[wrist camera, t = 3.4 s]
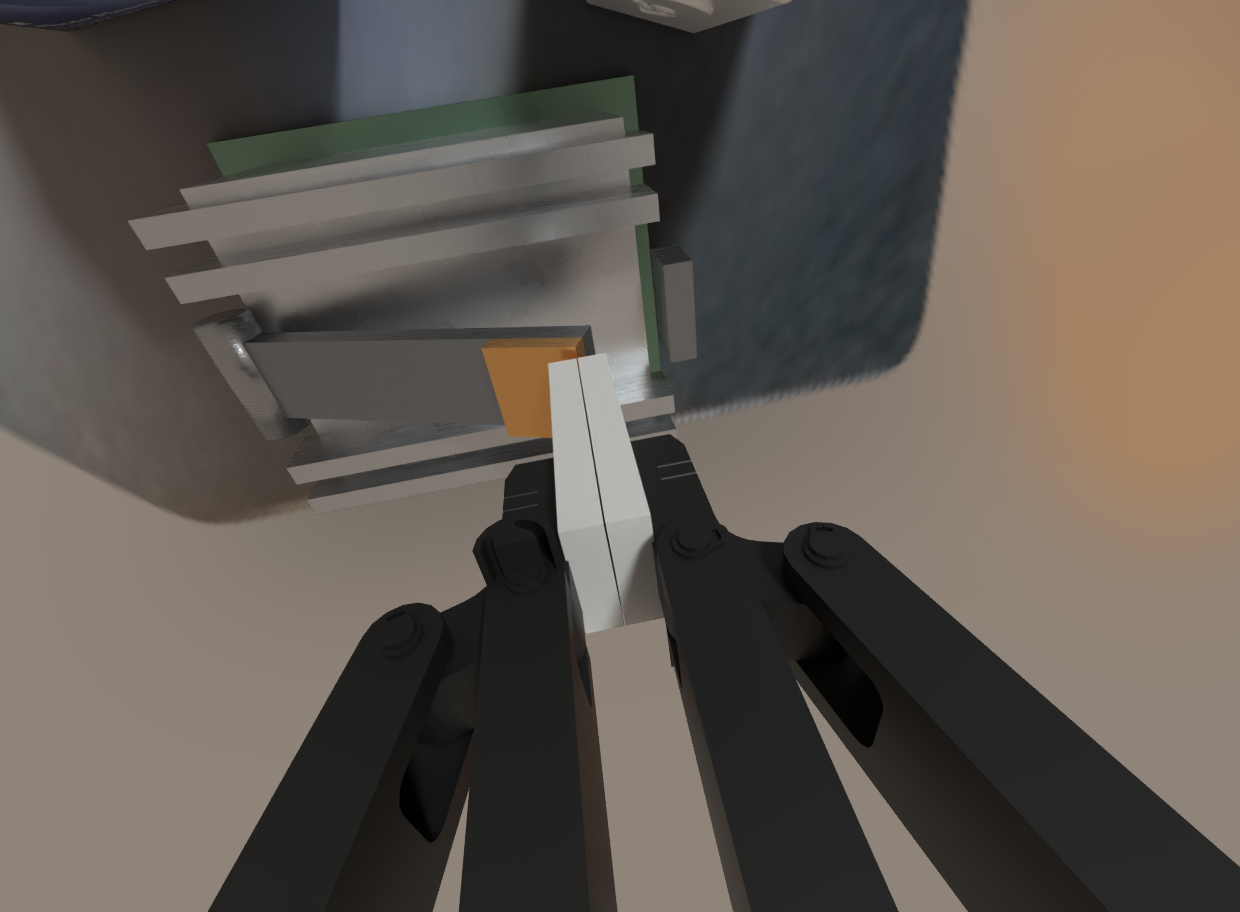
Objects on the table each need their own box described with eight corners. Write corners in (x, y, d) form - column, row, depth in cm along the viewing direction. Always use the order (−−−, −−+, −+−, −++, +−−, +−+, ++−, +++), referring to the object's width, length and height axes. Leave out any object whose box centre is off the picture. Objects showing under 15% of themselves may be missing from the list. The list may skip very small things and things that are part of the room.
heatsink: (213, 142, 21) (52, 170, 14) (631, 75, 22) (683, 69, 14) (360, 432, 29) (307, 544, 22) (659, 376, 30) (701, 466, 23)
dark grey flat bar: (283, 413, 21) (246, 440, 20) (221, 309, 19) (173, 331, 17) (612, 424, 17) (596, 458, 16) (591, 294, 15) (570, 321, 13)
